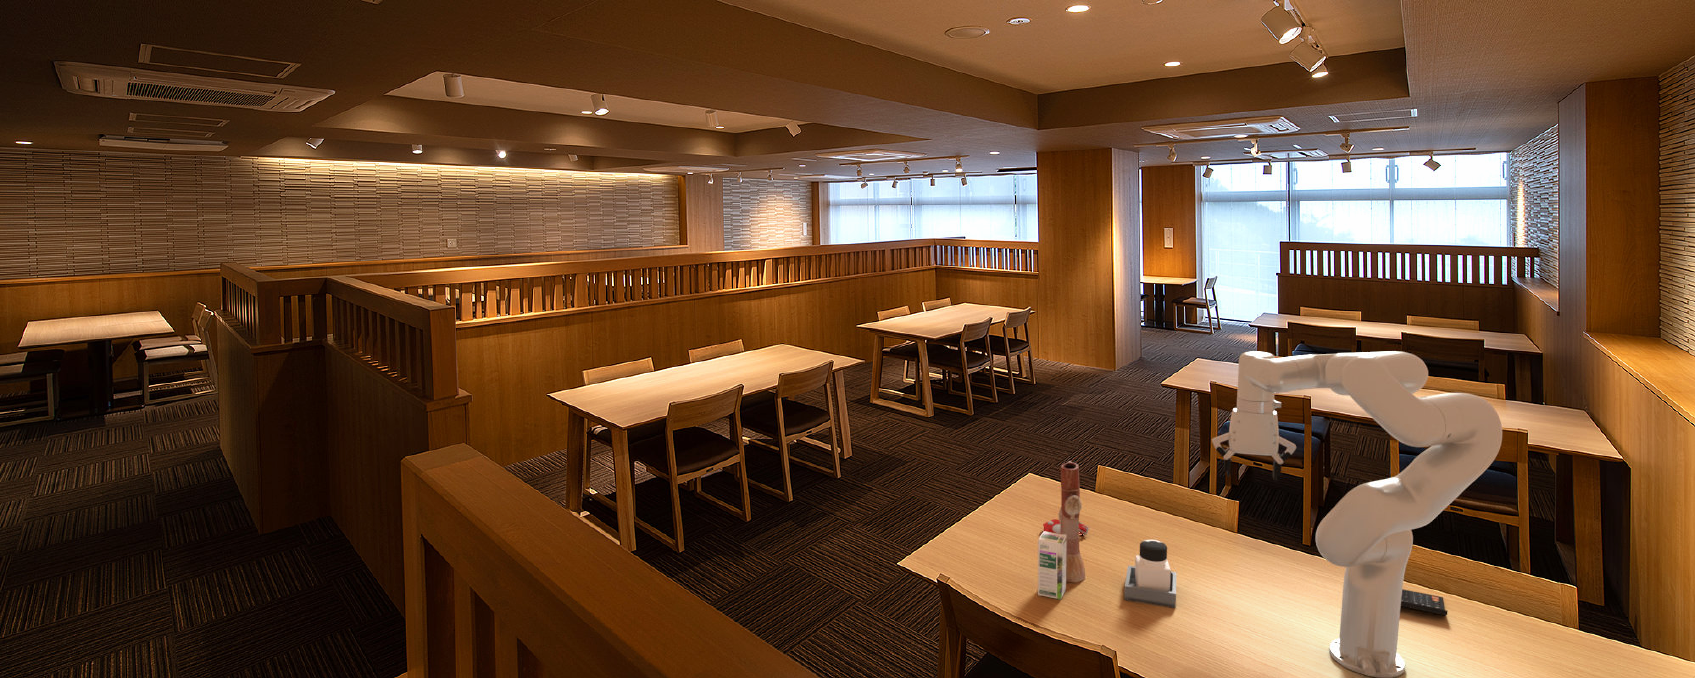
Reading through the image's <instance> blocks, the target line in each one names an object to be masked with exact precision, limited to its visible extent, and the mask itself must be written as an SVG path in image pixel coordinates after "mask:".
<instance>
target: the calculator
mask: <svg viewBox="0 0 1695 678" xmlns="http://www.w3.org/2000/svg"><path fill="white" fill-rule="evenodd" d="M1401 607H1403V608H1408V609H1412V610H1417V611H1421V612H1428V613H1432V614H1436V615H1437V614H1438V615H1442V616H1448V610H1446V607H1445V602H1444V597H1443V596H1438V595H1433V594H1430V593H1424V592H1418V591H1413V590H1409V589H1404V588H1402V596H1401Z"/></svg>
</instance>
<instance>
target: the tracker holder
mask: <svg viewBox="0 0 1695 678" xmlns="http://www.w3.org/2000/svg"><path fill="white" fill-rule="evenodd" d="M1042 525H1043V532H1044V531H1046V532H1050V533H1057V534H1060V529H1061V526H1060V521H1059V519H1055V518H1054V519H1051V520H1049V521H1047V522H1044V523H1043V524H1042ZM1089 529H1090V527H1089V526H1087V525H1085V524H1084V523H1082V522H1081V521H1079V532H1080V533H1079V534H1084V535H1083V536H1085V535H1086V536H1087V534H1088V533H1089Z"/></svg>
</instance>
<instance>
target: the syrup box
mask: <svg viewBox="0 0 1695 678" xmlns="http://www.w3.org/2000/svg"><path fill="white" fill-rule="evenodd" d="M1066 540H1067V536H1066V535H1065V534H1057V533H1050V532H1046V531H1044V530H1043V532H1042V533H1041V534H1040V535H1039V538H1038V540H1037V558H1038V559H1037V564H1038V565H1037V567H1038V568H1037V569H1038V571H1037V572H1038V573H1037V576H1038V577H1037V578H1038V579H1037V582H1038V584H1037V596H1040V597H1042V596H1043V597H1046V598H1050V599H1051V598H1052V599H1055V600H1059V601H1061V600H1062V598H1063V597H1064V594H1065V593H1066V589H1067V582H1066Z"/></svg>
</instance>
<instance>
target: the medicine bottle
mask: <svg viewBox="0 0 1695 678" xmlns="http://www.w3.org/2000/svg"><path fill="white" fill-rule="evenodd" d="M1134 560H1135V562H1134V564H1135V584H1136V586H1137V587H1144V588H1151V589H1157V590H1164V591H1170V592H1171V572H1172V570H1171V567H1170V564H1169V560H1168V546H1167V544H1166V543H1164V542H1162V541H1159V540H1157V539H1146V540H1143V541H1141V542H1140V543H1139V555H1138V554H1136V555H1135V559H1134Z"/></svg>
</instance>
